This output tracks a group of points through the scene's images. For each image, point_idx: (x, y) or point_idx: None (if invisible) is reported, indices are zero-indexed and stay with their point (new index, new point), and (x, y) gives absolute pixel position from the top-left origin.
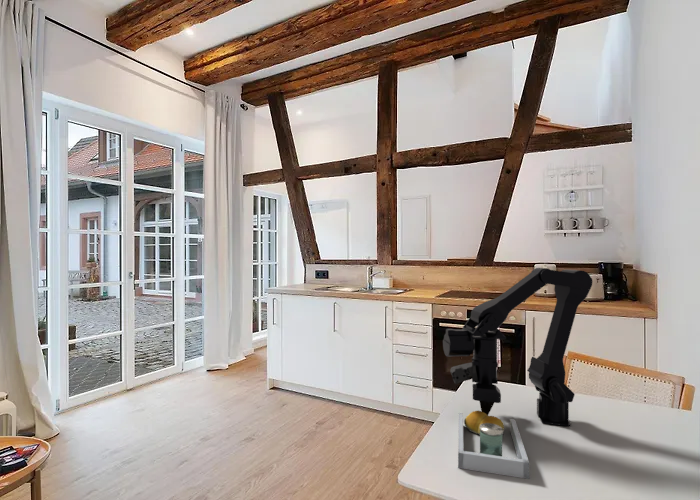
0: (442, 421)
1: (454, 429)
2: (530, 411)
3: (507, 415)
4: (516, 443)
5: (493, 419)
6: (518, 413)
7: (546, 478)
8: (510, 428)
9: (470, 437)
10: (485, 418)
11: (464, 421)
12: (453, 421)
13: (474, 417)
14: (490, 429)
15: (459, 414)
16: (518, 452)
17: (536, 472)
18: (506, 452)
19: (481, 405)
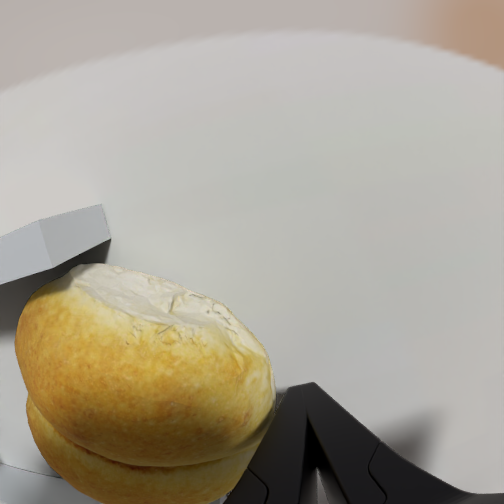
0: (104, 65)
1: (26, 201)
2: (490, 469)
3: (441, 438)
4: (32, 498)
5: (91, 497)
6: (469, 456)
7: None
8: (214, 501)
9: (5, 319)
10: (70, 460)
11: (69, 271)
12: (147, 140)
13: (28, 389)
14: None
15: (11, 241)
16: (6, 483)
17: None
18: (23, 449)
19: (245, 477)
